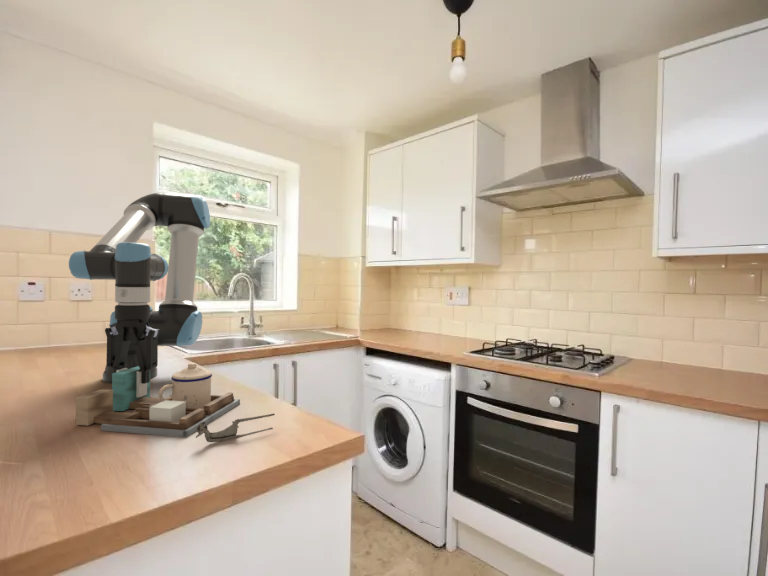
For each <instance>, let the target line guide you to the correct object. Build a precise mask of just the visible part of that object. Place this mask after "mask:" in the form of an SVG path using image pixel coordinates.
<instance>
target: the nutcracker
mask: <svg viewBox="0 0 768 576" xmlns="http://www.w3.org/2000/svg"><path fill="white" fill-rule="evenodd" d="M272 416H275V413H269V414H263V415H257V416H252V417H251V416H250V417H244V418H236V419H235V420H234V421H232V424H231V425H230V426H228V427H226V428H224V429H221V430H219V431H216V432H214V431H213V432H210V431H209V429H208V425H205V426H203V425H204V424H205V423H206V422H202V423H200V424H198V425H199V426H198V427H197V428H196V430H197V431H196V432H197V435H196V436H195V439H197V438H198V437H201V436H202V435H203V434H204V438H205V440H206V442H207V443H218V442H219V443H220V442H224V441H225V442H226V441H230V440H235V439H238V438H241V437H246V436H250V435H252V434H257V433H261V432H265V431H269V430H273V428H274V427H269V428H265V429H261V430H260V429H259V430H256V431H252V432H249V433H243V434H238V428H239V427H240V426H239V425H238V424H240V423H243V422H247V421H253V420H258V419H263V418H269V417H272Z"/></svg>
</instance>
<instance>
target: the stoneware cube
mask: <svg viewBox="0 0 768 576" xmlns="http://www.w3.org/2000/svg"><path fill="white" fill-rule="evenodd" d="M185 415H186V402H184V401H169V400H165V401H163V402H160V403H158V404H156V405H154V406H151V407H150V409H149V418H148V419H149V421H163V422H176V423H179V419H180V418H182V417H184V416H185Z"/></svg>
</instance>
